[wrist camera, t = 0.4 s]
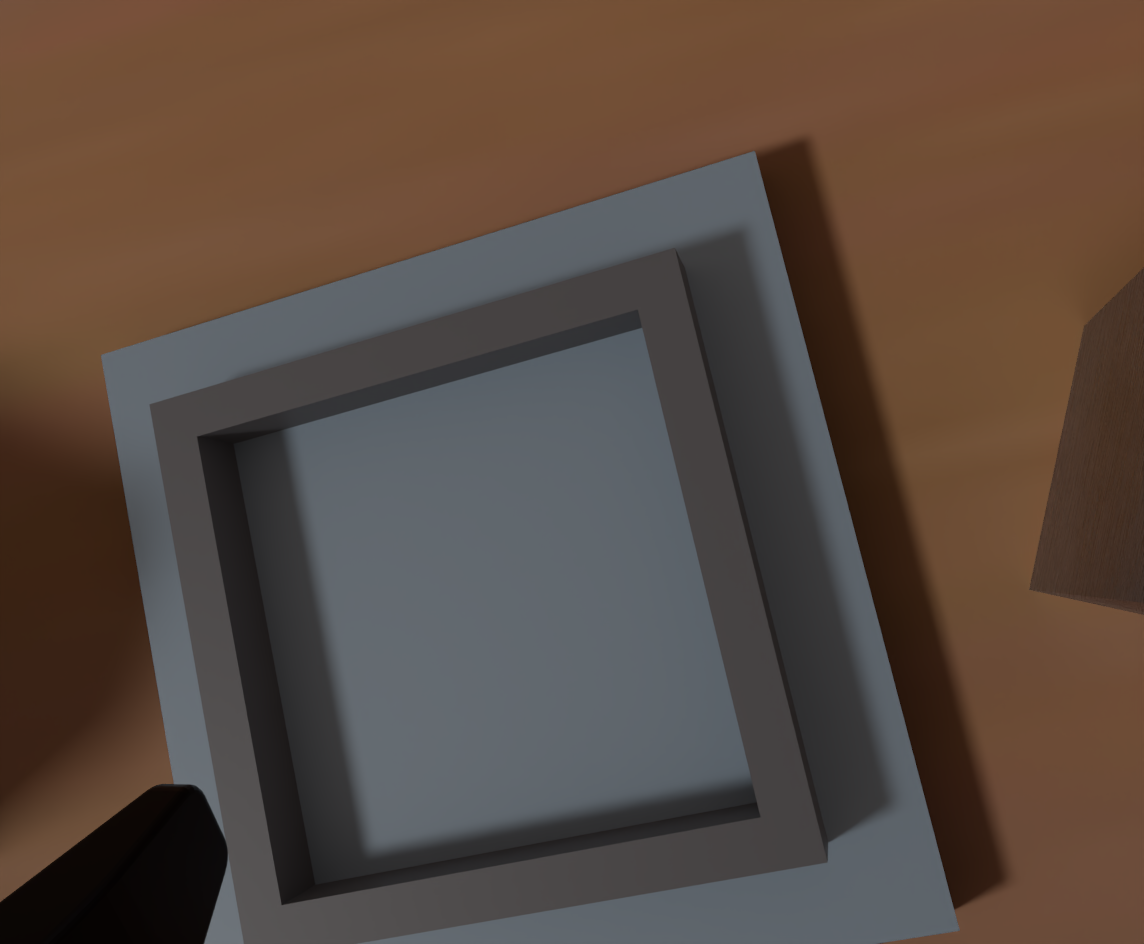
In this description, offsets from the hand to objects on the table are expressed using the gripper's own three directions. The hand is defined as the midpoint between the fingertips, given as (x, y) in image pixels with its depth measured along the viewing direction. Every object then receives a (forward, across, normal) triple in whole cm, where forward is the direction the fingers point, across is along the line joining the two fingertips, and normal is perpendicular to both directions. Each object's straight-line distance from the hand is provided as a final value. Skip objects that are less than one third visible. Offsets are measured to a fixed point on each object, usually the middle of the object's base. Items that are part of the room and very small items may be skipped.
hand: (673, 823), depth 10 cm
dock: (+12, +6, +7) cm, 15 cm away
